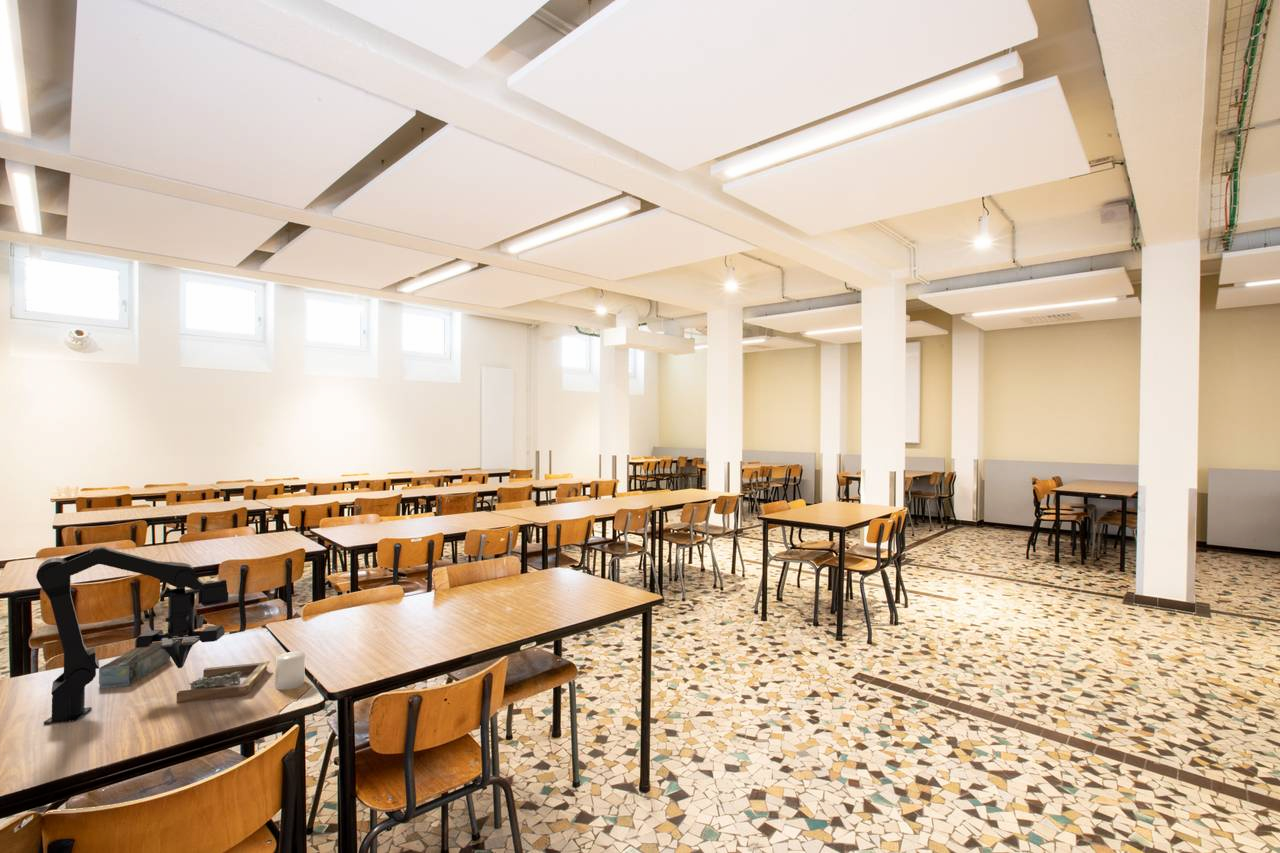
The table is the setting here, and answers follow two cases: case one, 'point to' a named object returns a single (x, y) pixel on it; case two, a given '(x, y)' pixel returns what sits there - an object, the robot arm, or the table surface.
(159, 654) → the grey-green printed box
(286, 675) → the off-white rounded cube
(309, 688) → the table surface
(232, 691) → the frame
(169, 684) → the table surface
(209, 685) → the egg carton
